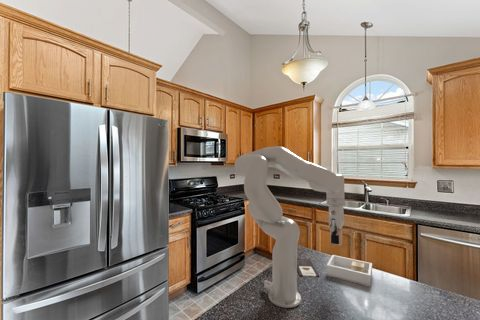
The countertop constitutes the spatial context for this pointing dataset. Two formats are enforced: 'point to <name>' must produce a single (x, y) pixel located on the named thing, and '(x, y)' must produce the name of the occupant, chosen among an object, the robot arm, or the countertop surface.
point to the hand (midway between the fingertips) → (336, 241)
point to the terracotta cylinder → (339, 236)
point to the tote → (349, 270)
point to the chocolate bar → (306, 268)
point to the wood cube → (357, 266)
